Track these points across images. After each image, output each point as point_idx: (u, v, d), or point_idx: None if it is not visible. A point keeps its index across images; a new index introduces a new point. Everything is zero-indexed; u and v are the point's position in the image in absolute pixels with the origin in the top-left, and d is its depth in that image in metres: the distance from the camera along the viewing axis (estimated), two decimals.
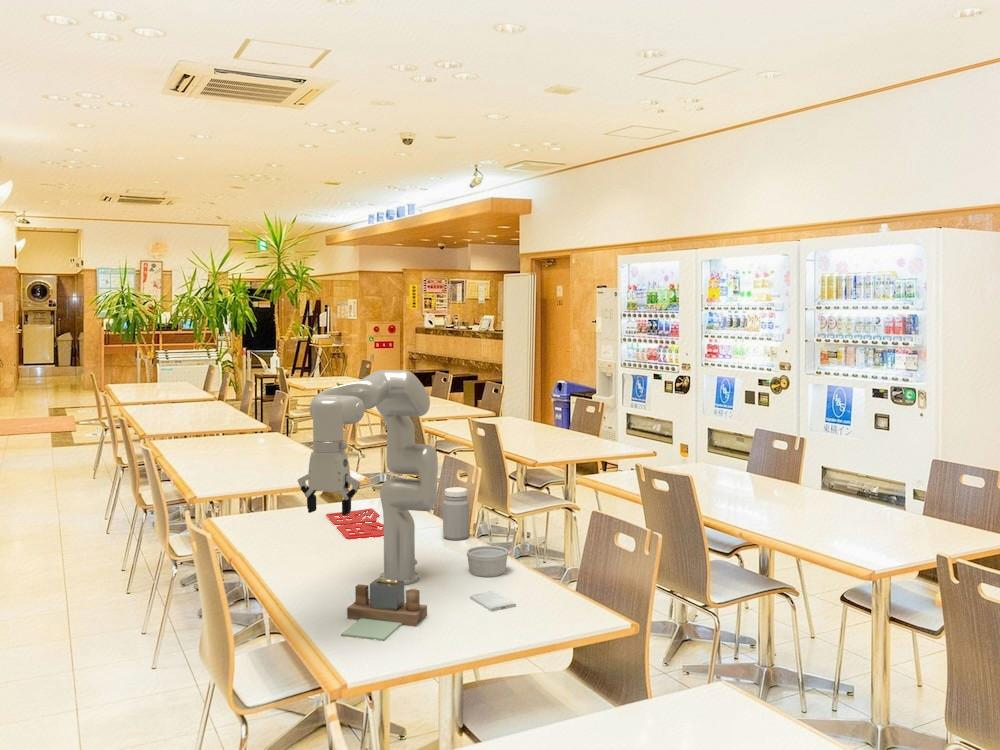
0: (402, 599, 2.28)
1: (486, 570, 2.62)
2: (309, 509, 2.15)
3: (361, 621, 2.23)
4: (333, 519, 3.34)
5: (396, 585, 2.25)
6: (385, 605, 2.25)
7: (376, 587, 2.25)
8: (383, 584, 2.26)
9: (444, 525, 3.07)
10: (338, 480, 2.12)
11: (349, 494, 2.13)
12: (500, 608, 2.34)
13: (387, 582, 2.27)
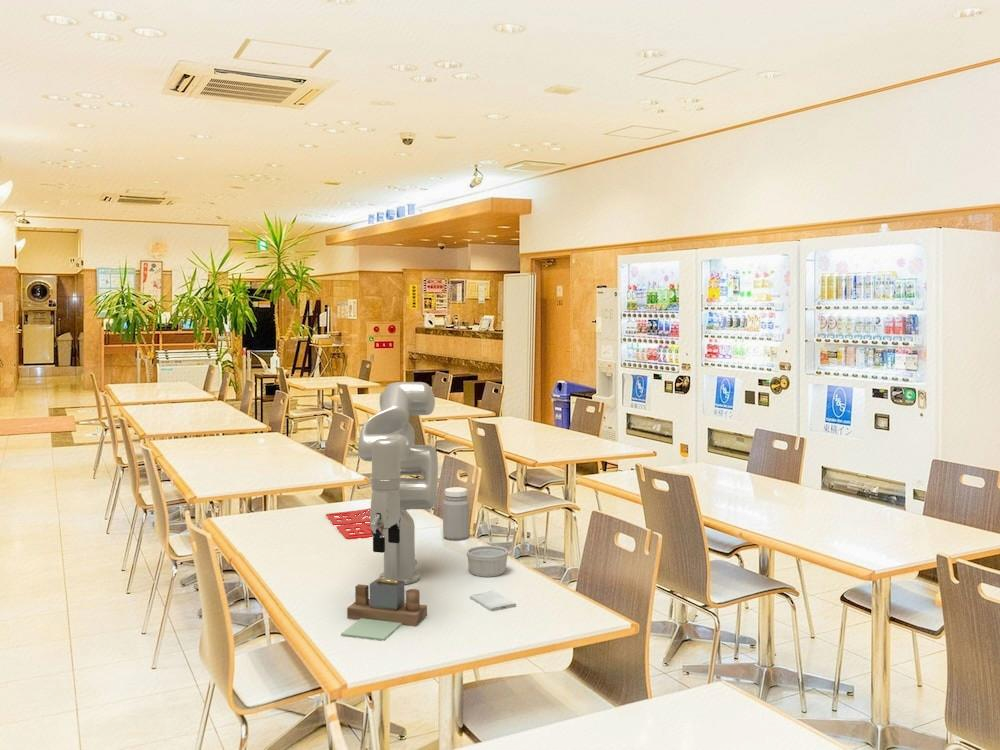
0: (402, 599, 2.28)
1: (486, 570, 2.62)
2: (384, 548, 2.21)
3: (361, 621, 2.23)
4: (333, 519, 3.34)
5: (396, 585, 2.25)
6: (385, 605, 2.25)
7: (376, 587, 2.25)
8: (383, 584, 2.26)
9: (444, 525, 3.07)
10: (399, 511, 2.29)
11: (398, 522, 2.32)
12: (500, 608, 2.34)
13: (387, 582, 2.27)
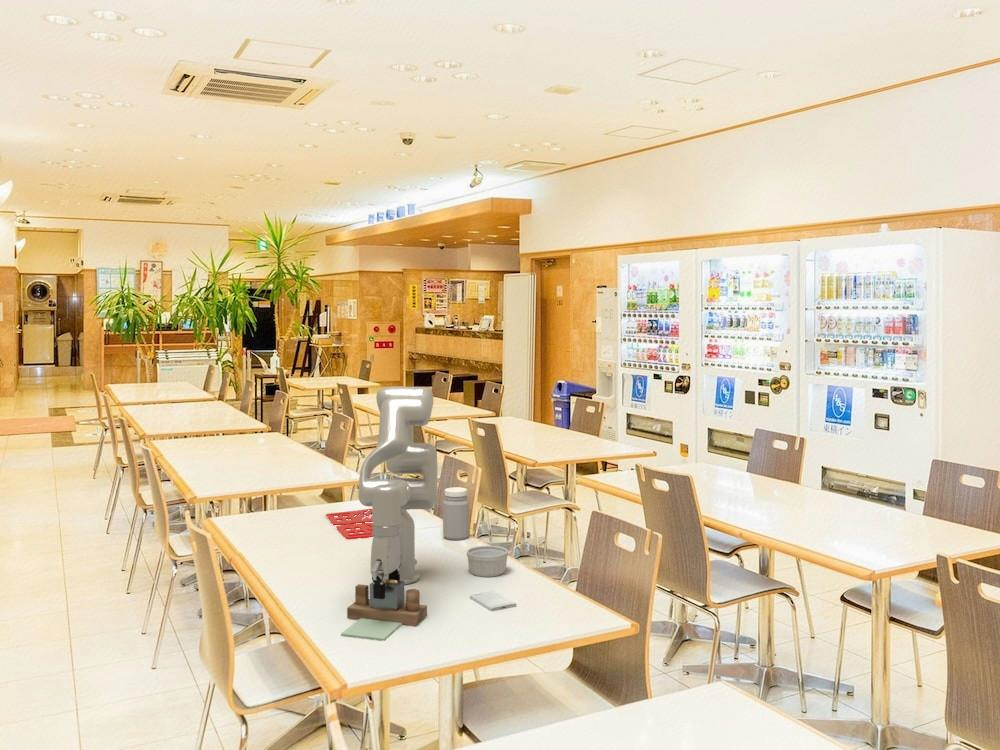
0: (402, 599, 2.28)
1: (486, 570, 2.62)
2: (384, 595, 2.22)
3: (361, 621, 2.23)
4: (333, 519, 3.34)
5: (396, 585, 2.25)
6: (385, 605, 2.25)
7: None
8: None
9: (444, 525, 3.07)
10: (399, 556, 2.30)
11: (398, 567, 2.32)
12: (500, 608, 2.34)
13: (387, 582, 2.27)
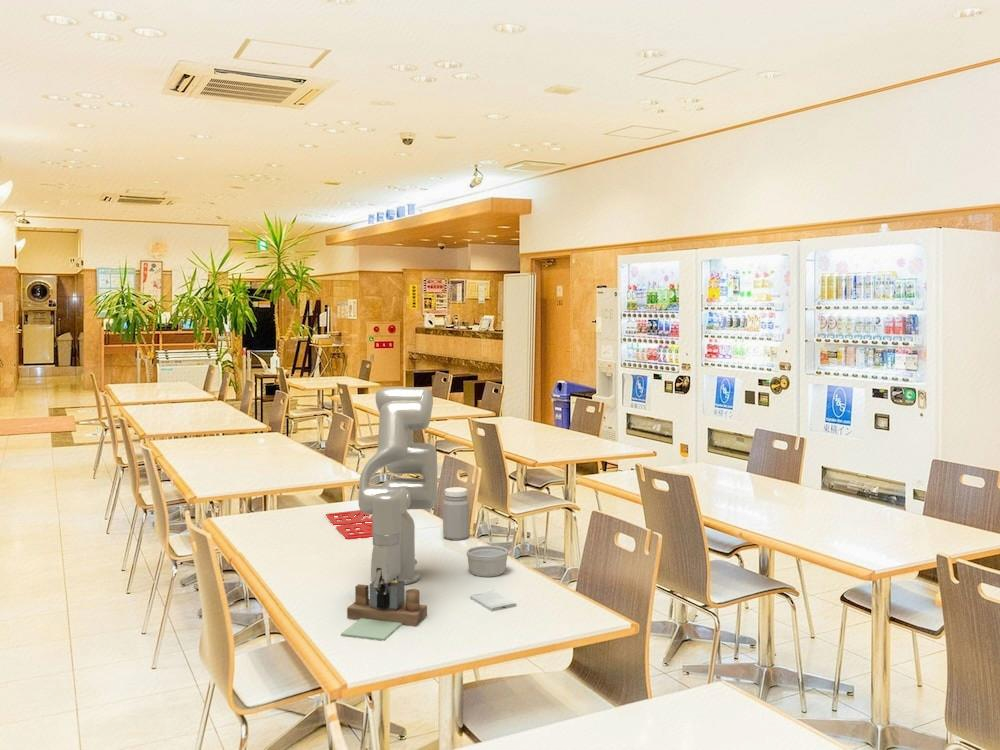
0: (402, 599, 2.28)
1: (486, 570, 2.62)
2: (388, 605, 2.25)
3: (361, 621, 2.23)
4: (332, 519, 3.34)
5: (396, 585, 2.25)
6: None
7: None
8: None
9: (444, 525, 3.07)
10: (399, 564, 2.30)
11: None
12: (501, 608, 2.34)
13: None
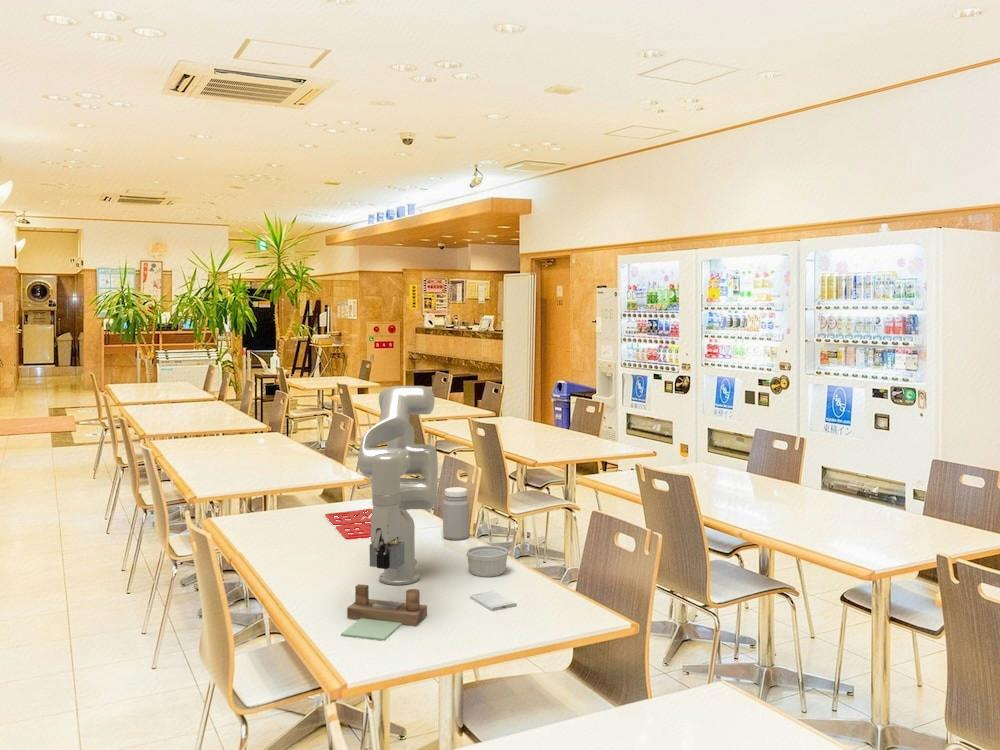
0: (402, 560, 2.28)
1: (486, 570, 2.62)
2: (388, 565, 2.24)
3: (361, 621, 2.23)
4: (332, 519, 3.34)
5: (396, 546, 2.24)
6: None
7: None
8: (383, 545, 2.25)
9: (444, 525, 3.07)
10: (399, 525, 2.30)
11: None
12: (501, 608, 2.34)
13: None
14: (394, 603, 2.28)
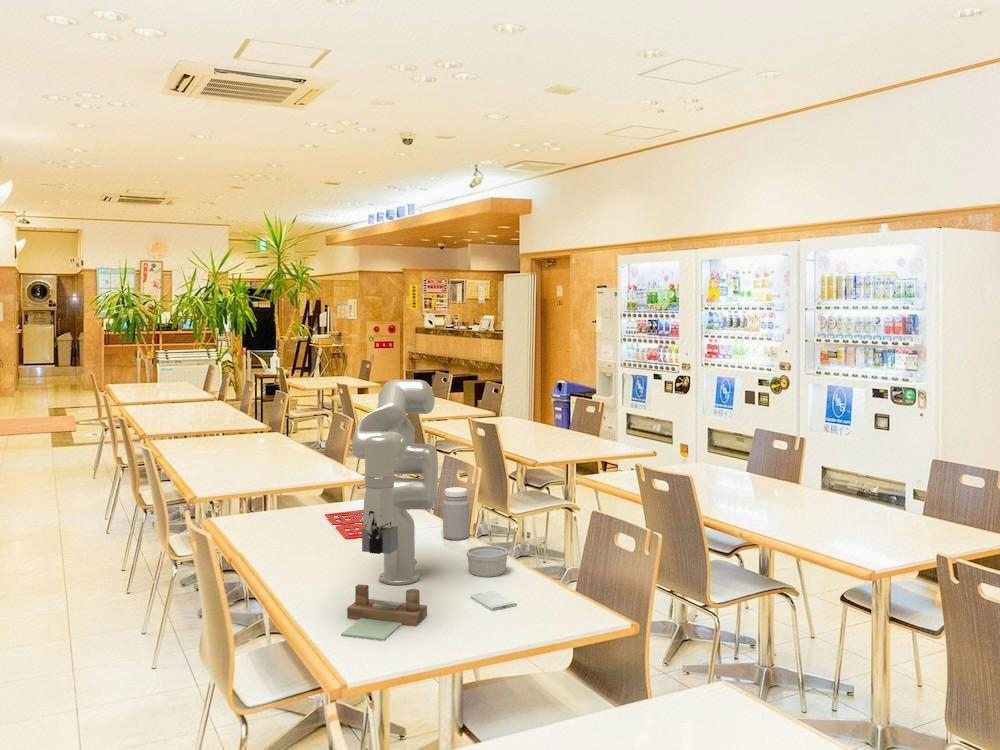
0: (396, 545, 2.22)
1: (486, 570, 2.62)
2: None
3: (361, 621, 2.23)
4: (332, 519, 3.34)
5: (389, 530, 2.19)
6: None
7: None
8: (376, 529, 2.20)
9: (444, 525, 3.07)
10: (393, 510, 2.25)
11: None
12: (501, 608, 2.34)
13: None
14: (394, 603, 2.28)
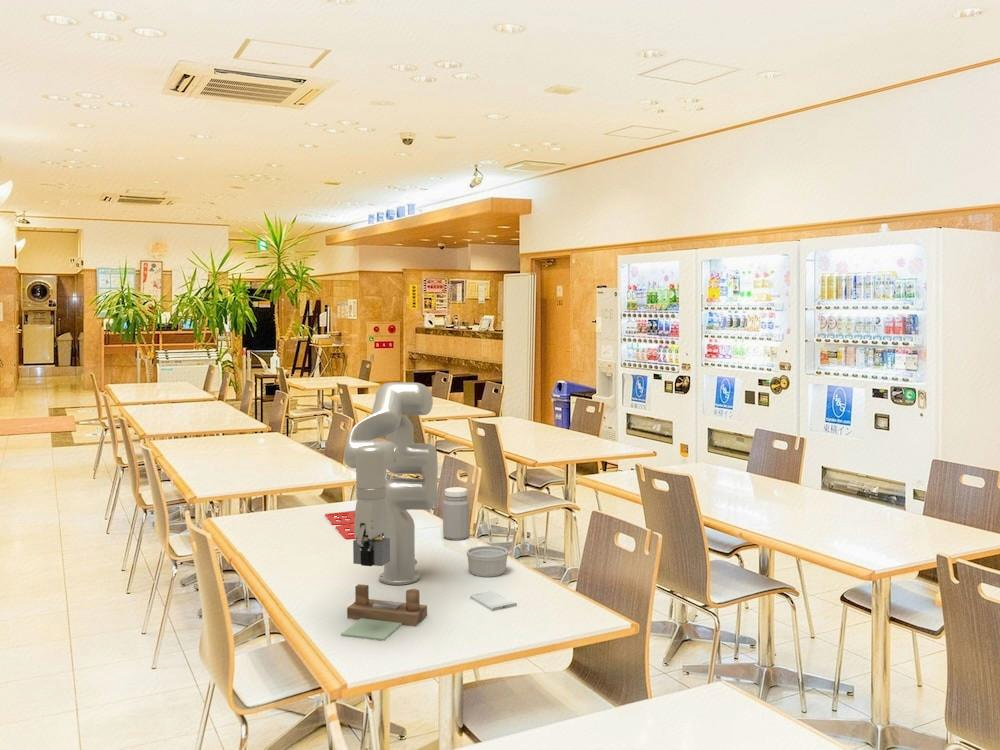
0: (388, 557, 2.18)
1: (486, 570, 2.62)
2: (372, 562, 2.14)
3: (361, 621, 2.23)
4: (332, 519, 3.34)
5: (380, 542, 2.15)
6: None
7: None
8: (367, 541, 2.16)
9: (444, 525, 3.07)
10: (385, 521, 2.20)
11: None
12: (501, 608, 2.34)
13: None
14: (394, 603, 2.28)
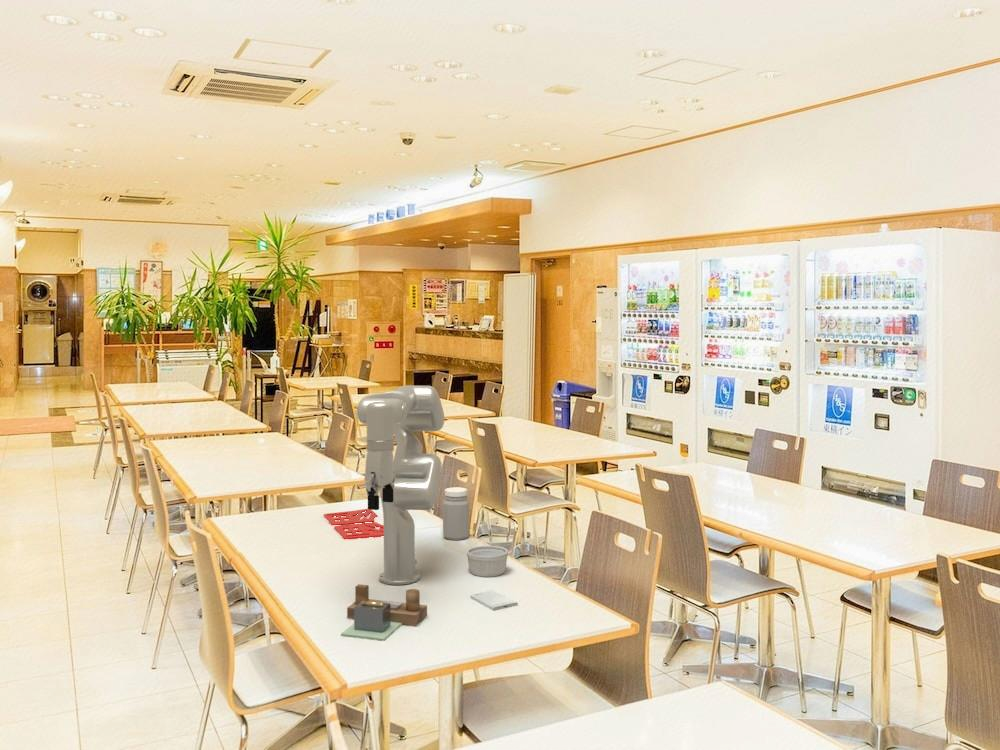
0: (388, 622, 2.19)
1: (486, 570, 2.62)
2: (378, 506, 2.32)
3: None
4: (331, 519, 3.34)
5: (381, 608, 2.16)
6: (370, 629, 2.16)
7: (360, 611, 2.17)
8: (368, 607, 2.17)
9: (444, 525, 3.07)
10: (393, 471, 2.39)
11: None
12: (502, 607, 2.35)
13: (372, 605, 2.18)
14: (394, 603, 2.28)
